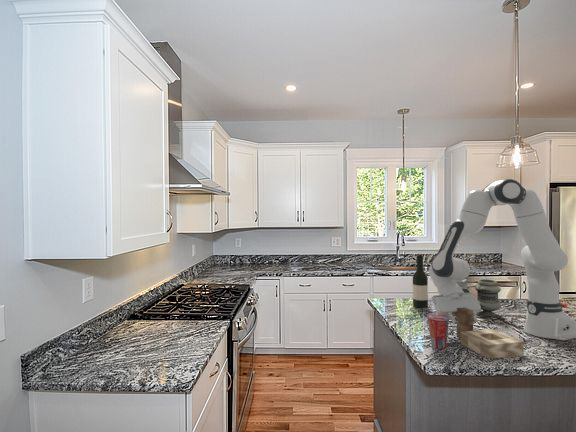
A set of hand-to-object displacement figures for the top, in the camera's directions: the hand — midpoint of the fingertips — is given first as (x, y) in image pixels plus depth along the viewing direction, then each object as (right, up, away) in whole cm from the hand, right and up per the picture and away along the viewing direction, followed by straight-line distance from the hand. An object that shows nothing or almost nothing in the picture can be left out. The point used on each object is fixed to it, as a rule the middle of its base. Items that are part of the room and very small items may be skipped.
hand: (465, 322), depth 151 cm
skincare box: (+21, -6, +50) cm, 55 cm away
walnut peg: (0, -6, +1) cm, 7 cm away
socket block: (+3, -6, -14) cm, 15 cm away
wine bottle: (0, -7, +53) cm, 53 cm away
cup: (-16, -7, -10) cm, 20 cm away
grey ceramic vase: (+28, -6, +33) cm, 44 cm away
